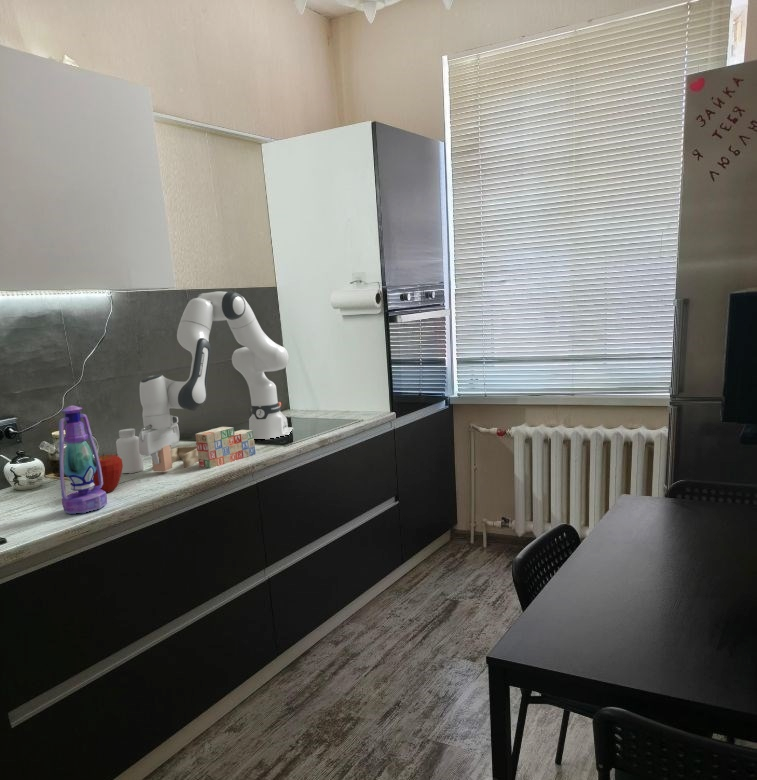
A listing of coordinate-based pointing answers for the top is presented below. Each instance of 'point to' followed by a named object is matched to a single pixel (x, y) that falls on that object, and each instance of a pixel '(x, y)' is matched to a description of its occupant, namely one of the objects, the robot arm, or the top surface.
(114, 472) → the apple
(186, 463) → the oak u-shaped frame
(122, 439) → the pill bottle
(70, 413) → the lantern
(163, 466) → the terracotta block
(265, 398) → the robot arm
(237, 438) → the stack of blocks
